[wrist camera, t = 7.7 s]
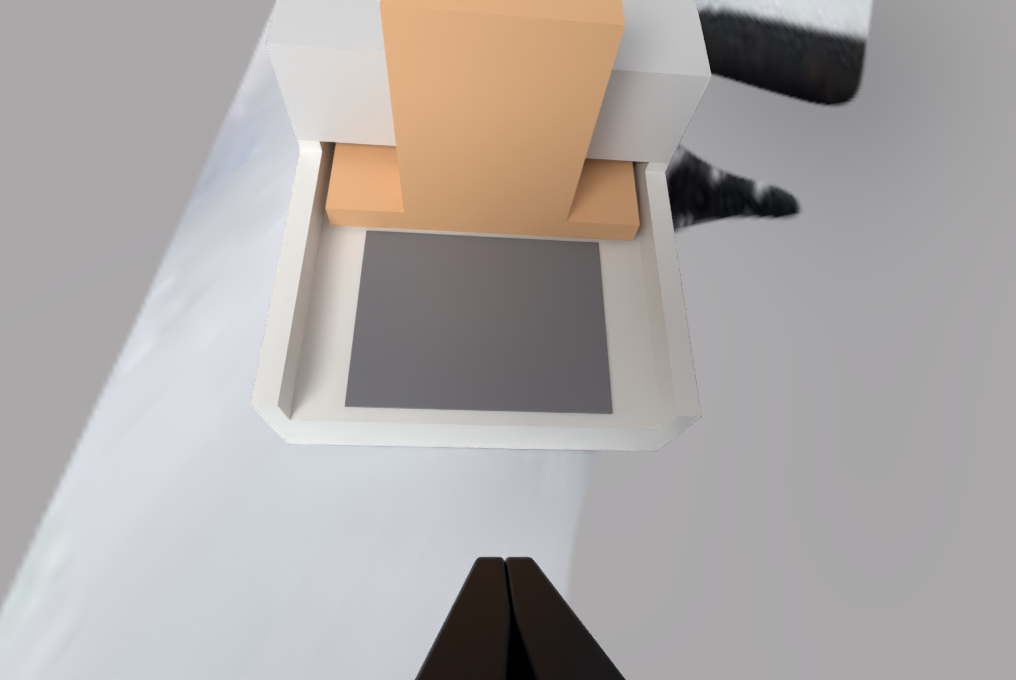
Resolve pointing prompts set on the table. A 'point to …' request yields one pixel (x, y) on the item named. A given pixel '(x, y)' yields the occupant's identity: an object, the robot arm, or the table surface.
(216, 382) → the table surface
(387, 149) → the tan boxy piece
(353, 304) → the camera case
